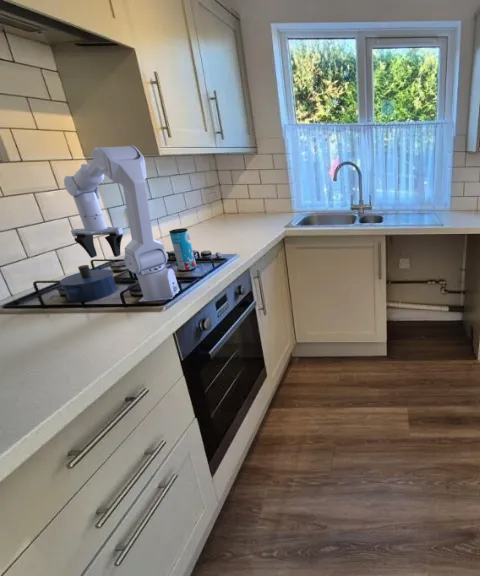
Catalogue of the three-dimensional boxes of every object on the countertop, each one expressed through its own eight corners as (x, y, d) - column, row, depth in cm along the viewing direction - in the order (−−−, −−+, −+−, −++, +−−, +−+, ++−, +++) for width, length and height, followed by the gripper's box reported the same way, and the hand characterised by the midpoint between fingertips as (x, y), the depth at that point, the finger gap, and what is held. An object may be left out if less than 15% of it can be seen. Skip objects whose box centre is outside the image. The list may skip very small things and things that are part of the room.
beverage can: (195, 270, 134) (185, 231, 128) (177, 272, 133) (167, 233, 127) (198, 265, 140) (188, 227, 134) (181, 267, 138) (171, 229, 132)
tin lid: (124, 273, 120) (119, 259, 118) (87, 289, 108) (82, 274, 106) (88, 271, 122) (84, 258, 120) (48, 287, 110) (43, 273, 108)
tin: (127, 281, 126) (122, 267, 124) (100, 303, 110) (94, 287, 108) (86, 285, 124) (81, 270, 122) (53, 307, 108) (46, 291, 105)
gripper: (57, 218, 109) (74, 261, 115) (107, 217, 110) (121, 259, 115) (74, 214, 116) (89, 254, 121) (121, 212, 117) (133, 252, 122)
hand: (105, 256), depth 119 cm, fingers open, 7 cm apart
